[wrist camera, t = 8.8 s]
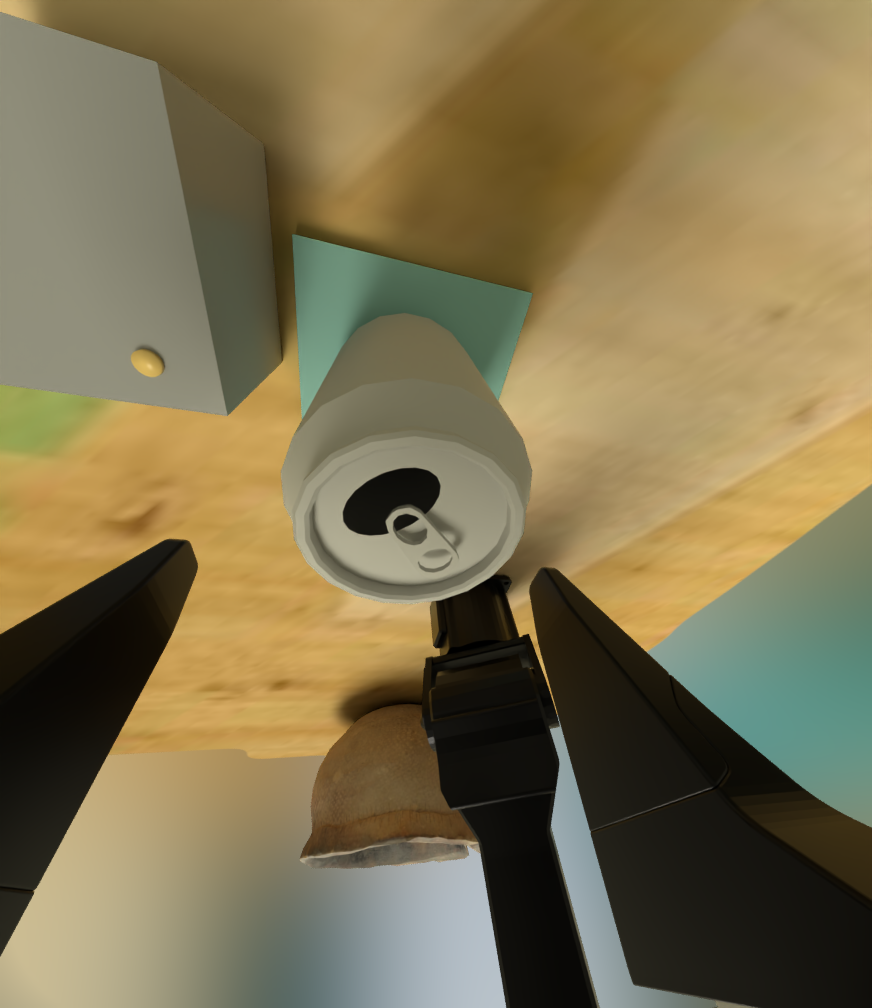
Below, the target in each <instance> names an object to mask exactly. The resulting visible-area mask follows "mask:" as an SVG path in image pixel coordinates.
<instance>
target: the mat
mask: <svg viewBox="0 0 872 1008" xmlns="http://www.w3.org/2000/svg"><path fill="white" fill-rule="evenodd" d="M292 241H293V259H294V278H295V297H296V316H297V335H298V354H299V372H300V391H301V410H302V419H303V417H304V415H305V414H306V412H307V410H308V408H309V406H310V404H311V403H312V401H313V399H314V397H315V395H316V393H317V392H318V390H319V388H320V386H321V384H322V382H323V381H324V379H325V377H326V375H327V373H328V371H329V370H330V368H331V366H332V364H333V362H334V360H335V359H336V357H337V355H338V353H339V351H340V349H341V348H342V346H343V345H344V344H345V343H346V341H347V340H348V339H349V338H350V337H351V336H352V334H353V333H354V332H355V331H356V330H357V329H358V328H359V327H361V326H363V325H365V324H367V323H368V322H370V321H372V320H374V319H376V318H378V317H379V316H386V315H393V314H401V313H408V314H412V315H416V316H421V317H425V318H429V319H431V320H433V321H434V322H436V323H437V324H439V325H441V326H442V327H444V328H445V329H447V330H448V331H450V332H451V333H452V334H453V335H454V337H455V338H456V339H457V340H458V342H459V343H460V344H461V346H462V347H463V348H464V349H465V351H466V352H467V354H468V355H469V357H470V358H471V360H472V361H473V363H474V364H475V366H476V368H477V369H478V371H479V372H480V374H481V375H482V377H483V378H484V380H485V381H486V383H487V384H488V386H489V388H490V389H491V391H492V392H493V394H494V395H495V397H496V398H497V400H499V397H500V394H501V391H502V387H503V384H504V381H505V378H506V375H507V372H508V369H509V366H510V363H511V360H512V356H513V353H514V350H515V347H516V344H517V341H518V338H519V335H520V332H521V329H522V326H523V322H524V319H525V316H526V313H527V310H528V307H529V304H530V301H531V298H532V295H533V293H530V292H526V291H522V290H518V289H514V288H510V287H506V286H502V285H498V284H494V283H490V282H486V281H482V280H478V279H474V278H470V277H466V276H461V275H457V274H453V273H449V272H445V271H441V270H437V269H433V268H429V267H425V266H421V265H417V264H413V263H409V262H405V261H401V260H397V259H393V258H389V257H385V256H380V255H376V254H372V253H368V252H364V251H360V250H356V249H352V248H348V247H344V246H340V245H336V244H332V243H328V242H324V241H320V240H316V239H312V238H308V237H304V236H299V235H295V234H292Z"/></svg>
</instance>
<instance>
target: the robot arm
mask: <svg viewBox="0 0 872 1008" xmlns="http://www.w3.org/2000/svg"><path fill="white" fill-rule="evenodd" d="M197 569H198V563H197V560H196V557H195V554H194V551H193V548H192V546H191V543H190V542H189V541H188V540H181V539H166V540H164V541H162V542H160V543H159V544H157V545H155V546H153V547H152V548H150V549H148V550H146V551H145V552H143V553H141V554H139V555H138V556H136V557H134V558H132V559H131V560H129V561H127V562H125V563H124V564H122V565H120V566H118V567H117V568H115V569H113V570H111V571H110V572H108V573H106V574H104V575H103V576H101V577H99V578H97V579H96V580H94V581H92V582H90V583H89V584H87V585H85V586H84V587H82V588H80V589H78V590H77V591H75V592H73V593H71V594H70V595H68V596H66V597H64V598H63V599H61V600H59V601H57V602H56V603H54V604H52V605H50V606H49V607H47V608H45V609H43V610H42V611H40V612H38V613H36V614H35V615H33V616H31V617H29V618H28V619H26V620H24V621H22V622H21V623H19V624H17V625H15V626H14V627H12V628H10V629H9V630H7V631H5V632H3V633H2V634H0V956H1V954H2V953H3V951H4V949H5V947H6V945H7V943H8V941H9V939H10V938H11V936H12V934H13V932H14V930H15V928H16V926H17V925H18V923H19V921H20V919H21V917H22V915H23V913H24V911H25V910H26V908H27V906H28V904H29V902H30V900H31V898H32V896H33V895H34V891H33V890H35V889H36V888H37V886H38V885H39V883H40V881H41V879H42V877H43V875H44V873H45V871H46V869H47V868H48V866H49V864H50V862H51V860H52V858H53V857H54V855H55V853H56V851H57V849H58V847H59V845H60V843H61V842H62V840H63V838H64V836H65V834H66V832H67V830H68V828H69V826H70V825H71V823H72V821H73V819H74V817H75V815H76V814H77V812H78V810H79V808H80V806H81V804H82V802H83V800H84V798H85V797H86V794H87V793H88V791H89V789H90V787H91V785H92V783H93V782H94V780H95V778H96V776H97V774H98V772H99V771H100V769H101V767H102V765H103V763H104V761H105V759H106V757H107V756H108V754H109V752H110V750H111V748H112V746H113V744H114V742H115V741H116V739H117V737H118V735H119V733H120V731H121V729H122V727H123V726H124V724H125V722H126V720H127V718H128V716H129V714H130V713H131V711H132V709H133V707H134V705H135V703H136V701H137V699H138V698H139V696H140V694H141V692H142V690H143V688H144V686H145V684H146V683H147V681H148V679H149V677H150V675H151V673H152V671H153V670H154V668H155V666H156V664H157V662H158V660H159V658H160V656H161V655H162V653H163V651H164V649H165V647H166V645H167V643H168V641H169V639H170V637H171V635H172V633H173V631H174V629H175V626H176V624H177V621H178V619H179V616H180V614H181V611H182V609H183V606H184V604H185V601H186V599H187V596H188V594H189V591H190V589H191V586H192V584H193V581H194V578H195V576H196V573H197ZM511 583H512V582H511V579H510V577H507V576H491V577H490V578H488V579H486V580H485V581H483V582H481V583H480V584H478V585H476V586H475V587H473V588H471V589H470V590H468V591H466V592H463V593H460V594H457V595H454V596H451V597H448V598H445V599H442V600H437V601H432V602H431V606H430V615H431V626H432V638H433V646H434V647H435V648H440V656H437V657H428V658H426V663H425V668H424V679H423V697H422V713H421V718H420V724H421V727H422V728H423V729H424V730H425V731H426V734H427V738H428V742H429V745H430V747H431V749H432V750H433V751H434V752H436V754H437V760H438V768H439V779H440V789H441V792H442V794H443V796H444V798H445V800H446V802H447V804H448V806H449V808H450V809H451V810H452V811H453V810H458V811H459V813H460V814H461V816H462V818H463V819H464V821H465V822H466V824H467V825H468V827H469V828H470V830H471V832H472V833H473V835H474V836H475V838H476V839H477V841H478V843H479V848H480V853H481V859H482V865H483V871H484V877H485V882H486V888H487V894H488V900H489V906H490V912H491V918H492V924H493V930H494V936H495V942H496V948H497V954H498V960H499V966H500V972H501V978H502V984H503V989H504V996H505V1002H506V1008H600V1007H599V1003H598V1000H597V996H596V992H595V989H594V985H593V981H592V977H591V974H590V970H589V966H588V962H587V959H586V955H585V951H584V948H583V944H582V941H581V937H580V933H579V929H578V925H577V922H576V918H575V914H574V911H573V907H572V903H571V899H570V895H569V892H568V888H567V884H566V881H565V877H564V873H563V869H562V866H561V862H560V858H559V855H558V851H557V847H556V843H555V840H554V836H553V832H552V828H551V820H552V813H553V806H554V799H555V792H556V786H557V779H558V772H559V758H558V755H557V752H556V748H555V745H554V742H553V739H552V735H551V732H550V729H551V728H556V727H559V726H560V725H559V721H560V724H561V727H562V731H563V735H564V738H565V742H566V746H567V749H568V753H569V756H570V760H571V764H572V767H573V771H574V775H575V778H576V782H577V785H578V789H579V793H580V796H581V800H582V804H583V807H584V811H585V814H586V818H587V821H588V825H589V829H590V831H591V837H592V840H593V844H594V848H595V851H596V855H597V859H598V862H599V866H600V869H601V873H602V877H603V880H604V884H605V887H606V891H607V895H608V898H609V902H610V905H611V909H612V913H613V916H614V920H615V924H616V927H617V930H618V934H619V938H620V942H621V945H622V948H623V952H624V956H625V959H626V963H627V967H628V970H629V973H630V976H631V979H632V982H633V984H634V985H636V986H641V987H647V988H651V989H657V990H662V991H667V992H672V993H678V994H683V995H688V996H693V997H699V998H704V999H709V1000H714V1001H715V1002H716V1004H717V1007H714V1008H872V828H871V827H869V826H867V825H865V824H863V823H861V822H859V821H857V820H854V819H852V818H851V817H849V816H847V815H844V814H843V813H841V812H839V811H837V810H835V809H834V808H832V807H830V806H829V805H827V804H825V803H824V802H822V801H821V800H819V799H818V798H816V797H815V796H813V795H812V794H810V793H809V792H808V791H806V790H805V789H804V788H802V787H801V786H800V785H799V784H797V783H796V782H795V781H794V780H792V779H791V778H790V777H789V776H788V775H786V774H785V773H784V772H783V771H782V770H780V769H779V768H778V767H777V766H776V765H774V764H773V763H772V762H771V761H769V760H768V759H767V758H766V757H765V756H764V755H762V754H761V753H760V752H758V750H756V749H755V748H754V747H753V746H752V745H750V744H749V743H748V742H747V741H746V740H744V739H743V738H742V737H741V736H740V735H738V734H737V733H736V732H735V731H734V730H733V729H731V728H730V727H729V726H728V725H727V724H725V723H724V722H723V721H722V720H721V719H720V718H718V717H717V716H716V715H715V714H714V713H713V712H711V711H710V710H709V709H708V708H707V707H706V706H705V705H704V704H702V703H701V702H700V701H699V700H698V699H697V698H696V697H695V696H693V695H692V694H691V693H690V692H689V691H688V690H687V689H686V688H685V687H684V686H683V685H681V684H680V683H679V682H678V681H677V680H676V679H675V678H674V677H673V676H672V675H669V674H668V672H667V671H666V670H665V669H664V668H663V667H662V666H661V665H660V664H658V662H657V661H655V660H654V659H653V658H652V657H651V656H650V655H649V654H648V653H647V652H646V651H645V650H644V649H643V648H641V647H640V646H639V645H638V644H637V643H636V642H635V641H634V640H633V639H632V638H631V637H630V636H628V635H627V634H626V633H625V632H624V631H623V630H622V629H621V628H620V627H619V626H618V625H617V624H616V623H614V622H613V621H612V620H611V619H610V618H609V617H608V616H607V615H606V614H605V613H604V612H603V611H602V610H600V609H599V608H598V607H597V606H596V605H595V604H594V603H593V602H592V601H591V600H590V599H589V598H587V597H586V596H585V595H584V594H583V593H582V592H581V591H580V590H579V589H578V588H577V587H576V586H575V585H573V584H572V583H571V582H570V581H569V580H568V579H567V578H566V577H565V576H564V575H563V574H562V573H561V572H559V571H558V570H557V569H555V568H548V567H542V568H541V569H540V570H539V571H538V573H537V574H536V576H535V578H534V579H533V581H532V583H531V585H530V589H529V593H530V599H531V605H532V611H533V617H534V623H535V628H536V634H537V639H538V644H539V648H540V652H541V656H542V659H543V663H544V666H545V670H546V674H547V677H548V681H549V684H550V688H551V692H552V695H553V699H554V702H555V706H556V710H557V713H558V717H559V721H558V717H557V714H556V710H555V707H554V704H553V700H552V697H551V694H550V691H549V688H548V685H547V682H546V679H545V677H544V674H543V671H542V668H541V666H540V663H539V660H538V657H537V655H536V652H535V649H534V647H533V644H532V641H531V638H530V636H529V634H526V635H522V636H523V637H519V634H518V631H517V627H516V624H515V621H514V618H513V614H512V611H511V608H510V605H509V602H508V598H507V595H506V592H507V591H508V589H509V587H510V585H511ZM530 668H531V669H530Z"/></svg>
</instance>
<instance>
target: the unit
mask: <svg viewBox="0 0 872 1008" xmlns="http://www.w3.org/2000/svg"><path fill="white" fill-rule="evenodd" d="M281 363H282V355H281V343H280V331H279V319H278V307H277V295H276V283H275V271H274V259H273V247H272V235H271V223H270V211H269V199H268V187H267V175H266V163H265V151H264V144H263V143H262V142H260V141H259V140H258V139H257V138H255V137H254V136H253V135H251V134H250V133H249V132H247V131H246V130H245V129H244V128H242V127H241V126H240V125H238V124H237V123H236V122H234V121H233V120H232V119H231V118H229V117H228V116H227V115H225V114H224V113H223V112H221V111H220V110H219V109H218V108H216V107H215V106H214V105H212V104H211V103H210V102H208V101H207V100H206V99H204V98H203V97H202V96H201V95H199V94H198V93H197V92H195V91H194V90H193V89H191V88H190V87H189V86H188V85H186V84H185V83H184V82H182V81H181V80H180V79H178V78H177V77H176V76H175V75H173V74H172V73H171V72H169V71H168V70H167V69H165V68H164V67H163V66H162V65H160V64H159V63H158V62H155V61H152V60H149V59H146V58H143V57H140V56H137V55H134V54H130V53H127V52H124V51H121V50H118V49H115V48H112V47H109V46H105V45H102V44H99V43H96V42H93V41H90V40H87V39H83V38H80V37H77V36H74V35H71V34H68V33H65V32H62V31H58V30H55V29H52V28H49V27H46V26H43V25H40V24H37V23H33V22H30V21H27V20H24V19H21V18H18V17H15V16H11V15H8V14H5V13H2V12H0V384H1V385H8V386H16V387H23V388H30V389H37V390H44V391H52V392H59V393H66V394H73V395H80V396H88V397H95V398H102V399H109V400H116V401H124V402H131V403H138V404H145V405H152V406H160V407H167V408H174V409H181V410H188V411H196V412H203V413H210V414H217V415H224V416H228V415H229V414H230V413H231V412H232V411H233V410H234V409H235V408H236V407H237V406H238V405H239V404H240V403H241V402H242V401H243V400H244V399H245V398H246V397H247V396H248V395H249V394H250V393H251V392H252V391H253V390H254V389H255V388H256V387H257V386H258V385H259V384H260V383H261V382H262V381H263V380H264V379H265V378H266V377H267V376H268V375H269V374H271V373H272V372H273V371H274V370H275V369H276V368H277V367H278V366H279V365H280V364H281Z"/></svg>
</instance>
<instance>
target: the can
mask: <svg viewBox="0 0 872 1008" xmlns="http://www.w3.org/2000/svg"><path fill="white" fill-rule="evenodd" d="M531 477H532V469H531V465H530V462H529V458H528V455H527V452H526V448H525V445H524V442H523V438H522V437H521V435H520V434H519V432H518V431H517V429H516V428H515V426H514V425H513V423H512V421H511V420H510V418H509V417H508V415H507V414H506V412H505V411H504V409H503V408H502V406H501V405H500V403H499V401H498V400H497V398H496V397H495V395H494V394H493V392H492V391H491V389H490V388H489V386H488V384H487V383H486V381H485V380H484V378H483V377H482V375H481V374H480V372H479V371H478V369H477V368H476V366H475V364H474V363H473V361H472V360H471V358H470V357H469V355H468V354H467V352H466V351H465V349H464V348H463V347H462V346H461V344H460V343H459V342H458V340H457V339H456V338H455V337H454V335H453V334H452V333H451V332H450V331H448V330H447V329H445V328H444V327H442V326H441V325H439V324H437V323H436V322H434V321H433V320H431V319H429V318H425V317H421V316H416V315H412V314H408V313H401V314H393V315H386V316H379V317H378V318H376V319H374V320H372V321H370V322H368V323H367V324H365V325H363V326H361V327H359V328H358V329H357V330H356V331H355V332H354V333H353V334H352V336H351V337H350V338H349V339H348V340H347V341H346V343H345V344H344V345H343V346H342V348H341V349H340V351H339V353H338V355H337V357H336V359H335V360H334V362H333V364H332V366H331V368H330V370H329V371H328V373H327V375H326V377H325V379H324V381H323V382H322V384H321V386H320V388H319V390H318V392H317V393H316V395H315V397H314V399H313V401H312V403H311V404H310V406H309V408H308V410H307V412H306V414H305V415H304V417H303V419H302V421H301V423H300V425H299V427H298V428H297V430H296V432H295V434H294V436H293V438H292V441H291V444H290V447H289V449H288V452H287V455H286V458H285V461H284V464H283V467H282V470H281V479H282V489H283V500H284V506H285V508H286V510H287V512H288V514H289V516H290V518H291V520H292V522H293V534H294V540H295V542H296V544H297V545H298V547H299V549H300V551H301V553H302V555H303V557H304V558H305V560H306V562H307V564H309V565H310V566H311V567H312V568H313V569H314V570H315V571H316V572H317V573H319V574H320V575H321V576H322V577H323V578H324V579H325V580H326V581H327V582H329V583H330V584H332V585H334V586H336V587H338V588H340V589H342V590H344V591H347V592H349V593H351V594H353V595H355V596H358V597H362V598H366V599H370V600H374V601H378V602H382V603H400V604H416V603H423V602H430V601H437V600H442V599H445V598H448V597H451V596H454V595H457V594H460V593H463V592H466V591H468V590H470V589H471V588H473V587H475V586H476V585H478V584H480V583H481V582H483V581H485V580H486V579H488V578H490V577H491V576H493V575H494V574H495V573H496V572H497V571H498V570H499V569H500V568H501V567H502V566H503V565H504V564H505V563H506V561H507V560H508V559H509V558H510V557H511V556H512V555H513V553H514V551H515V549H516V547H517V545H518V543H519V541H520V539H521V537H522V535H523V533H524V525H525V515H526V506H527V504H528V502H529V496H530V486H531Z"/></svg>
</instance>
